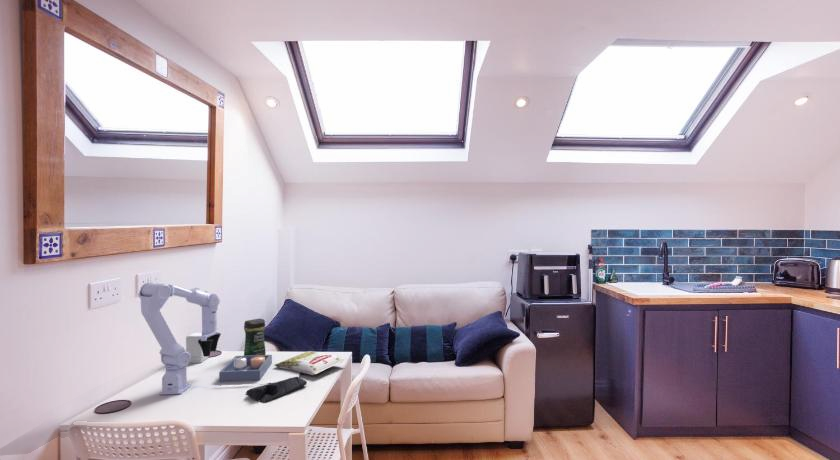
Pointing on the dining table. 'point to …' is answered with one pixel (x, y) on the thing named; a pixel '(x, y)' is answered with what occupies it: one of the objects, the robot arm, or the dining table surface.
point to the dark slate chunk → (275, 389)
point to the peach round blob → (257, 362)
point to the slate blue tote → (244, 375)
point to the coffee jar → (254, 337)
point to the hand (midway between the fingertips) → (209, 353)
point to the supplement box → (195, 348)
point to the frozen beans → (310, 362)
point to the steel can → (240, 364)
